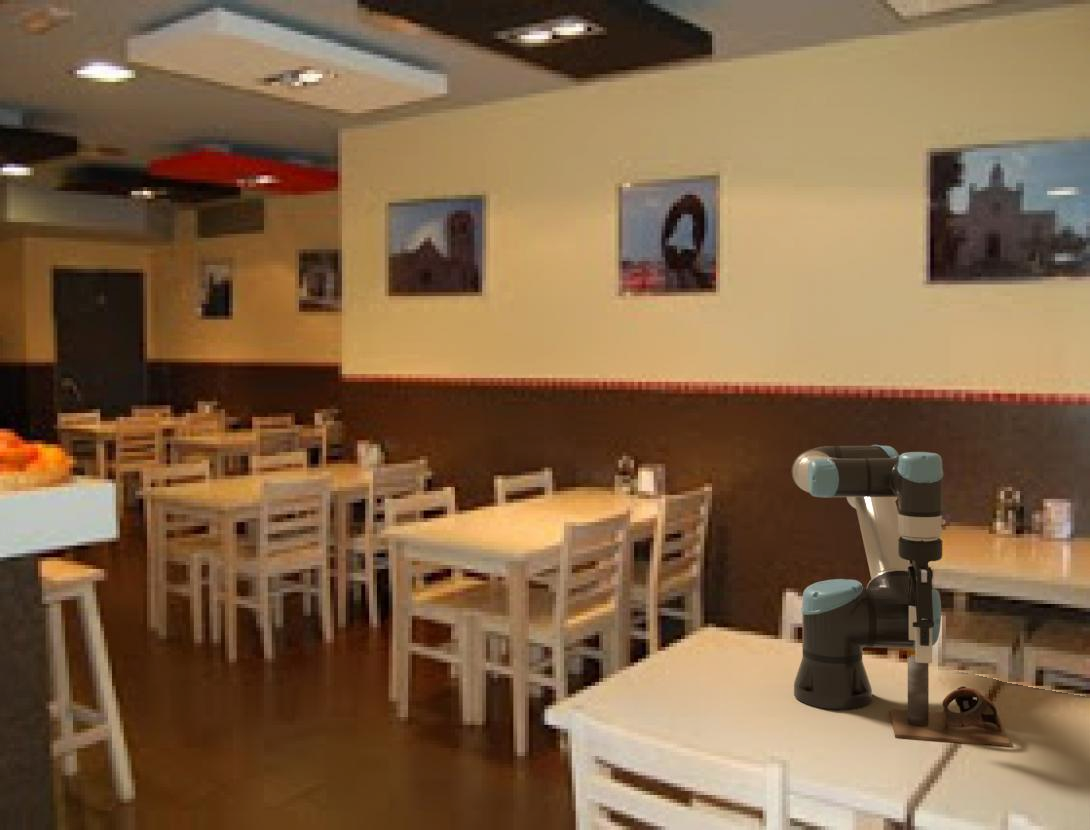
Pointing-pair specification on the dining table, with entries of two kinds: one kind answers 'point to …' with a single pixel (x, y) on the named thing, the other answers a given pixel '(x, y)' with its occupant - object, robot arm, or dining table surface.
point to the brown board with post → (936, 716)
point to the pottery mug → (969, 709)
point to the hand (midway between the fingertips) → (920, 650)
